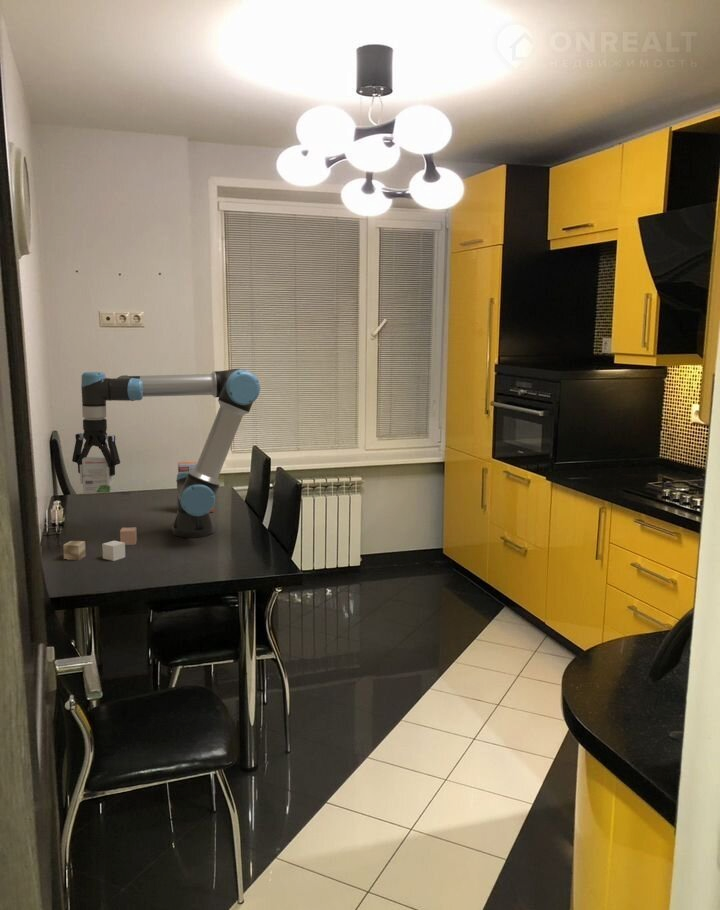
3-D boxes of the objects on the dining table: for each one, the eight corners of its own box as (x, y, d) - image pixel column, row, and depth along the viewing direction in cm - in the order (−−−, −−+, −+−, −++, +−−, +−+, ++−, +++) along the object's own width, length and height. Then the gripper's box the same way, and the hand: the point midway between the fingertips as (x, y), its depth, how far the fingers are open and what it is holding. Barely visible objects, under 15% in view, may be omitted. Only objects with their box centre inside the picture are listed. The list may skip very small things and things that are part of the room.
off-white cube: (125, 557, 244) (124, 542, 243) (113, 561, 239) (113, 546, 239) (114, 554, 246) (114, 540, 245) (102, 558, 242) (102, 543, 241)
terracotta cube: (136, 540, 263) (136, 527, 262) (135, 544, 258) (134, 531, 257) (122, 541, 262) (121, 527, 261) (120, 545, 257) (120, 531, 256)
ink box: (110, 489, 253) (109, 455, 251) (109, 492, 249) (108, 458, 247) (84, 490, 251) (83, 456, 249) (83, 493, 246) (81, 458, 244)
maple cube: (85, 556, 244) (85, 541, 243) (78, 560, 239) (78, 545, 238) (70, 555, 244) (70, 540, 244) (63, 559, 239) (63, 545, 239)
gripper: (130, 418, 247) (132, 484, 250) (72, 415, 252) (75, 479, 256) (117, 421, 240) (119, 488, 243) (58, 417, 245) (61, 483, 248)
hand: (96, 483), depth 249 cm, fingers closed on ink box, 9 cm apart
